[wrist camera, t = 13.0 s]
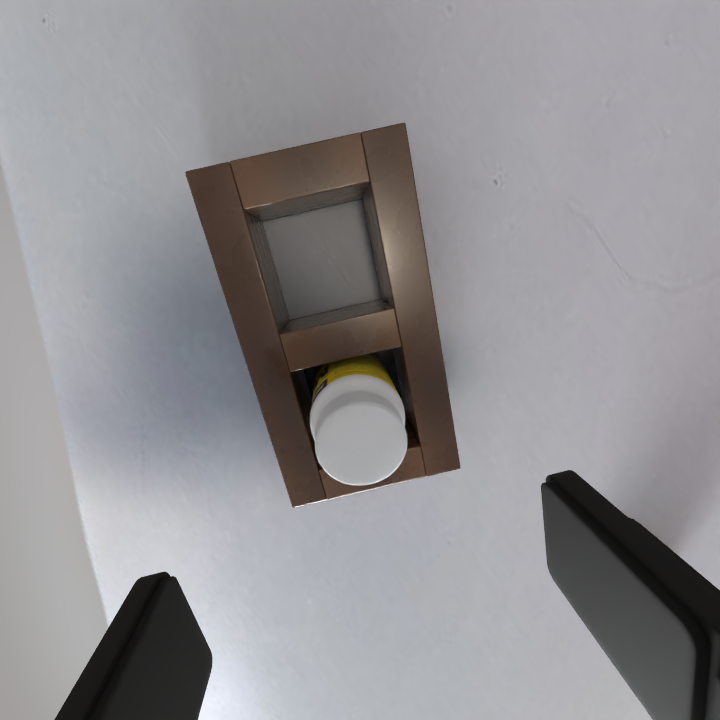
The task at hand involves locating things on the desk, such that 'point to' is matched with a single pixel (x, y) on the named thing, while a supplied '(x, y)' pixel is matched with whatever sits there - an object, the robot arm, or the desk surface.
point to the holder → (338, 327)
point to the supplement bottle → (357, 420)
